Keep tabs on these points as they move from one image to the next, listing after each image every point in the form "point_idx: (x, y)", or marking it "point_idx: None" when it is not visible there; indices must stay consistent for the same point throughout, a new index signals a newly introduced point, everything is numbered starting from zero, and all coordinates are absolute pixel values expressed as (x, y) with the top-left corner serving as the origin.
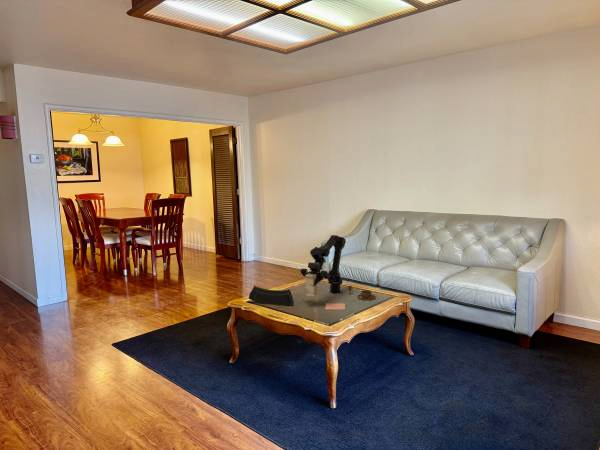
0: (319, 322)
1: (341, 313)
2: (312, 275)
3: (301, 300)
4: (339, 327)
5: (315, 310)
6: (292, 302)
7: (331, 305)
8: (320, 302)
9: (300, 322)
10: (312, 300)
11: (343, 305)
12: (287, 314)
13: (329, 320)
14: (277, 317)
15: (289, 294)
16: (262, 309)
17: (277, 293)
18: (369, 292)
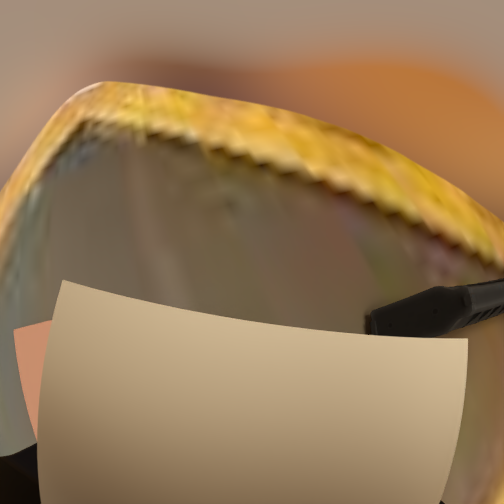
0: (119, 127)
1: (27, 268)
2: (100, 399)
3: None
4: (55, 122)
5: (169, 278)
6: (380, 320)
7: None
8: None
9: (199, 104)
10: None
11: (33, 407)
12: (309, 166)
13: (79, 159)
14: (327, 127)
15: (431, 290)
16: (451, 208)
17: (496, 281)
18: None
